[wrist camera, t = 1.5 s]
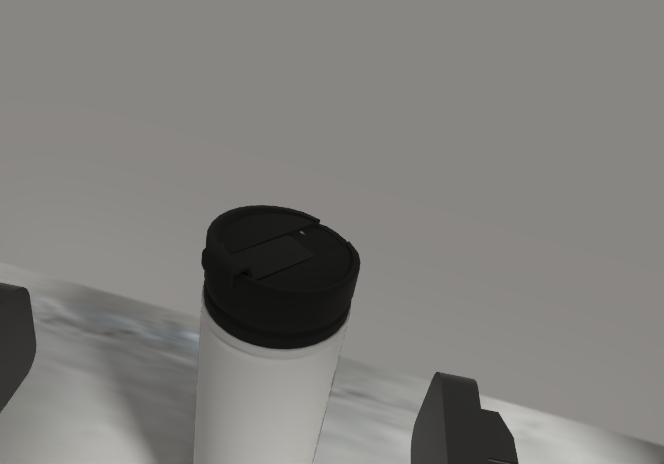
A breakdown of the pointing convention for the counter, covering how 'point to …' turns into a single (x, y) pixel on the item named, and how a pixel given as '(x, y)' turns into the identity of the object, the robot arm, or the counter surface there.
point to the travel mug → (269, 334)
